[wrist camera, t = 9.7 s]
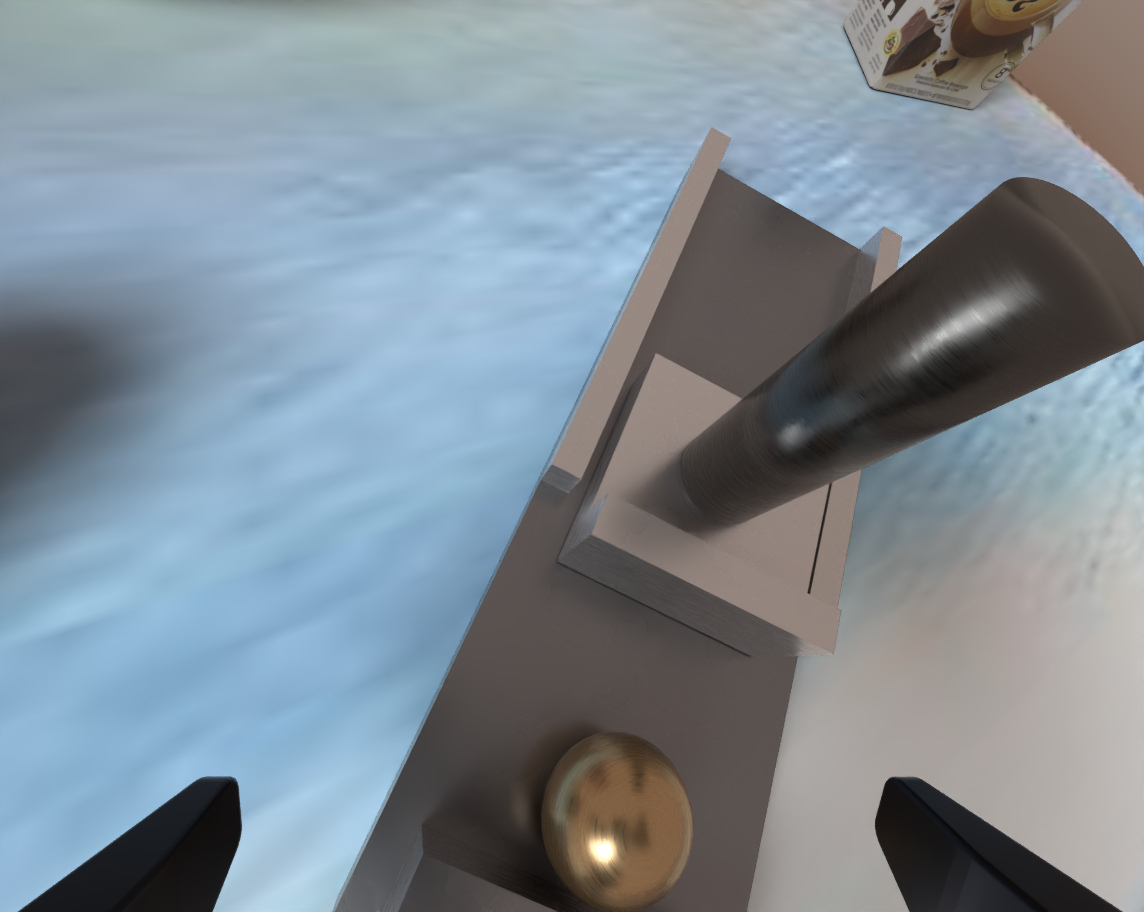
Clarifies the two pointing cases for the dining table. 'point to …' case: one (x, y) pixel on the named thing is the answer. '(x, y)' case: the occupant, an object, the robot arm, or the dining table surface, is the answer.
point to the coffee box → (948, 44)
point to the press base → (622, 626)
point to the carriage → (845, 415)
